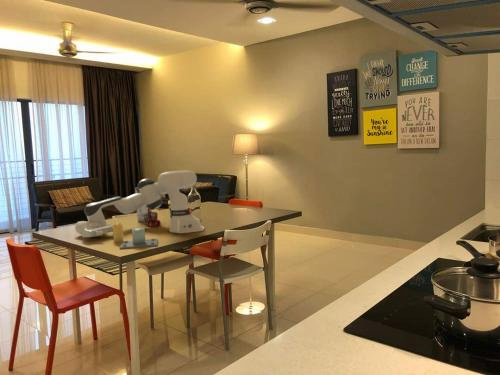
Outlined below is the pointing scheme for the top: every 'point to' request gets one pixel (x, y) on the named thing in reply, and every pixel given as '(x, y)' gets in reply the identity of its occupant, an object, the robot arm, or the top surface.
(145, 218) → the juice carton
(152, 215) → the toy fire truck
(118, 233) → the round brick
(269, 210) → the top surface
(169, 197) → the robot arm
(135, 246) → the tower base
